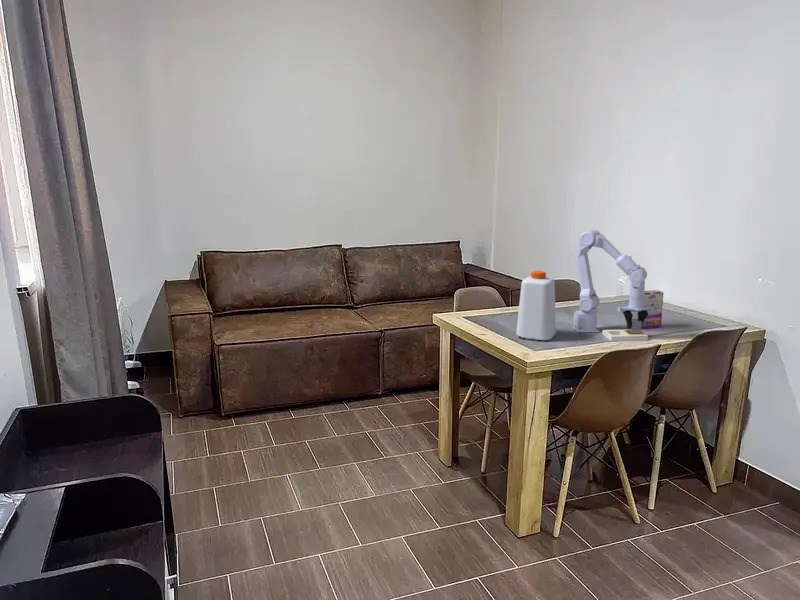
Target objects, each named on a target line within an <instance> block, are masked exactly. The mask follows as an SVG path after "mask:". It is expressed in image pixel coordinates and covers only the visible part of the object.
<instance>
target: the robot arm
mask: <svg viewBox="0 0 800 600" xmlns="http://www.w3.org/2000/svg"><path fill="white" fill-rule="evenodd" d="M576 242H577V243H576V244H575V245H576V246H575V248H574V256H575V262H576V269H577V275H578V279H579V286H580V293H579V302H578V306H579V310H576V311H574V313H573V326H572V328H573V330H575V332H577V333H579V332H581V333H600V330H599V329H597V323H598V307H599V305H600V302H601V301H600V298H599V296H598V295H597V292H596V290H595V288H594V285H593V284H594V283H593V279H592V278H593V277H592V272H591V265H590V260H589V255H588V254H589V253H588V252H590V251H591V249H592V248H599V249H601V250H604V251H605V252H606V253H607V254H608V255H609V256H611V257H612V258H613V259H614V260H615V262H616V266H618V268H619V269H621V270H622V272H624V274H626V276H628V279H629V281H630V285H629V296H628V305H624V306H617V312H618V313H623V315H624V319H625V322H626V328H627V329H628V328H629V329H631V321H632V319H633V318H634V312H636V311H638V319H639V320H641V321H642V324H643V322H644V320H645V318H646V317H647V316H648V312H647V311H651V312H653V310H654V307H652V306H643V302H644V291H646V289H645V288H646V287H645V285H646V283H645V282H646V279H647V276H648V272H647V270H646V268H644V267H642V266H641V265H640V264H637V263H636V262H635V261H634V260H633V259H632V258H633V257H632V256H631V255H628V254H622V253H621V252H620V251H619V250H618V248H616V246H614V245H613V243H612V242H610V241H609V240H608V239H607V238H606V236H605V235H604V234H603V233H601V232H600V231H599V230H598V229H591V230H588V231H584V232H582V234H580V235H579V236H578V238H577V241H576ZM641 327H642V325H641Z"/></svg>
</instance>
